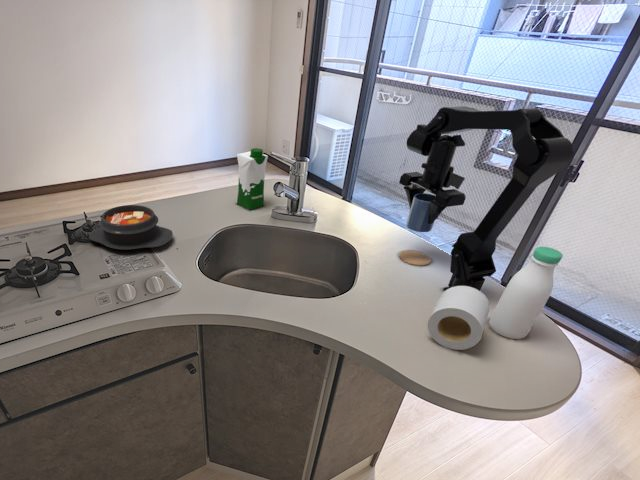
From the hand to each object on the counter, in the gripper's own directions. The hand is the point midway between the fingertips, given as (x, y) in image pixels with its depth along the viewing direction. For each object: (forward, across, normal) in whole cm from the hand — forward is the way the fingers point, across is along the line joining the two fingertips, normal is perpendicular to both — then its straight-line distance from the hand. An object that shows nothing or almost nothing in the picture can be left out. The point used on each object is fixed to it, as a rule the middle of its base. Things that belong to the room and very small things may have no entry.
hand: (421, 218), depth 109 cm
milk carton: (+12, +49, +33) cm, 60 cm away
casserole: (+12, +32, +77) cm, 84 cm away
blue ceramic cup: (+3, 0, -1) cm, 3 cm away
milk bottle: (+12, -34, 0) cm, 37 cm away
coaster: (+12, -1, -1) cm, 12 cm away
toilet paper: (+12, -32, +14) cm, 37 cm away
